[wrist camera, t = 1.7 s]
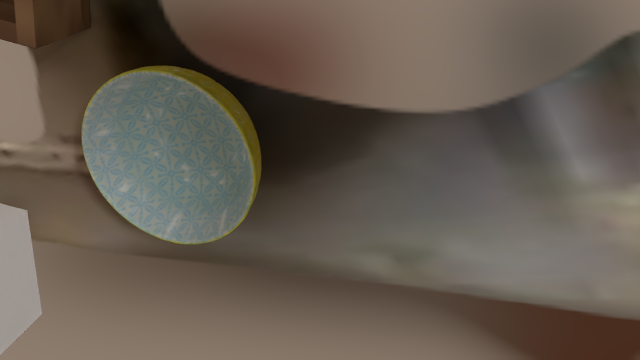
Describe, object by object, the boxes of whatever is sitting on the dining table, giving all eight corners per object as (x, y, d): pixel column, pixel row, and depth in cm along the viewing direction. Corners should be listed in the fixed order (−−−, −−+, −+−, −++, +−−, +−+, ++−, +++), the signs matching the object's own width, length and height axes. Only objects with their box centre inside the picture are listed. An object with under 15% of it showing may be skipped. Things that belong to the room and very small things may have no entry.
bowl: (140, 185, 45) (92, 228, 39) (124, 32, 39) (66, 58, 34) (284, 212, 42) (254, 261, 37) (289, 54, 37) (255, 85, 32)
